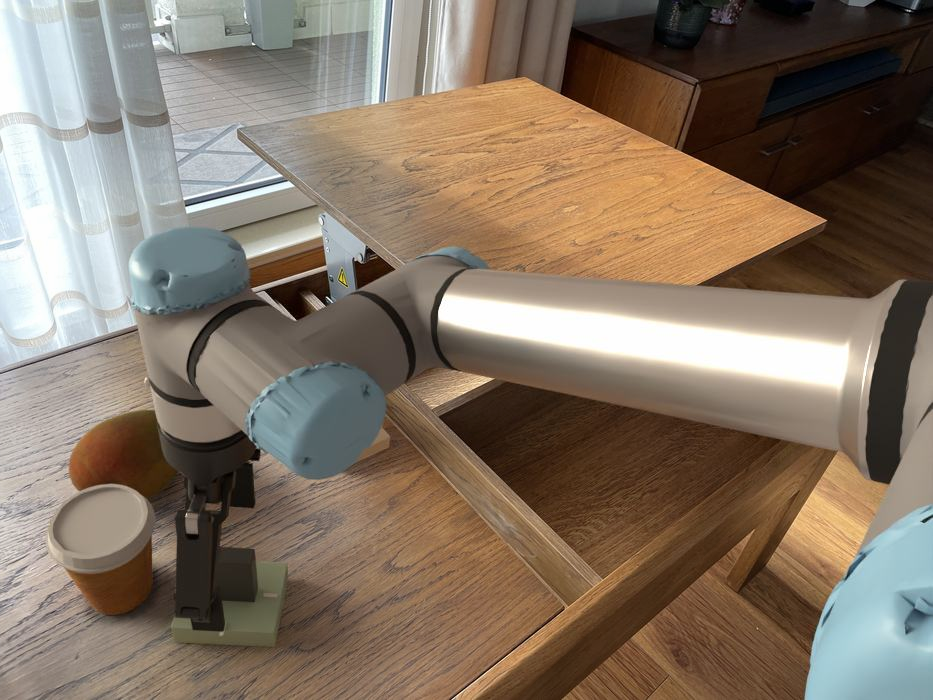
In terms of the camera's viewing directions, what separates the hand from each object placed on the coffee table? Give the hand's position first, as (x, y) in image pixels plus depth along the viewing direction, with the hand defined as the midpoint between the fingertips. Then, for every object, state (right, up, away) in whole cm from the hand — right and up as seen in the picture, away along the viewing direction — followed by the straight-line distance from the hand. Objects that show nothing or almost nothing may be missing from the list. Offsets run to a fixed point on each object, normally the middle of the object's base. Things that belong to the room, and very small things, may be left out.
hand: (226, 561), depth 70 cm
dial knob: (-1, -4, +4) cm, 6 cm away
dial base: (-1, -7, +5) cm, 9 cm away
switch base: (+7, +9, +26) cm, 28 cm away
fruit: (-16, +5, +16) cm, 23 cm away
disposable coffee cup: (-13, -5, +6) cm, 15 cm away
